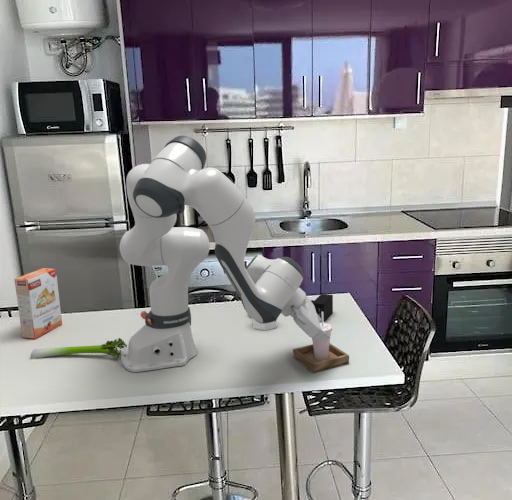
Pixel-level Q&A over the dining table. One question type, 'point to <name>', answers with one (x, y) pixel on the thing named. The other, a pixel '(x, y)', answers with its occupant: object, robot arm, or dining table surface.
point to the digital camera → (324, 305)
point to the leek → (81, 350)
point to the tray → (308, 360)
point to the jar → (264, 325)
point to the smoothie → (322, 342)
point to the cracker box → (38, 302)
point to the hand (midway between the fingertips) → (325, 332)
